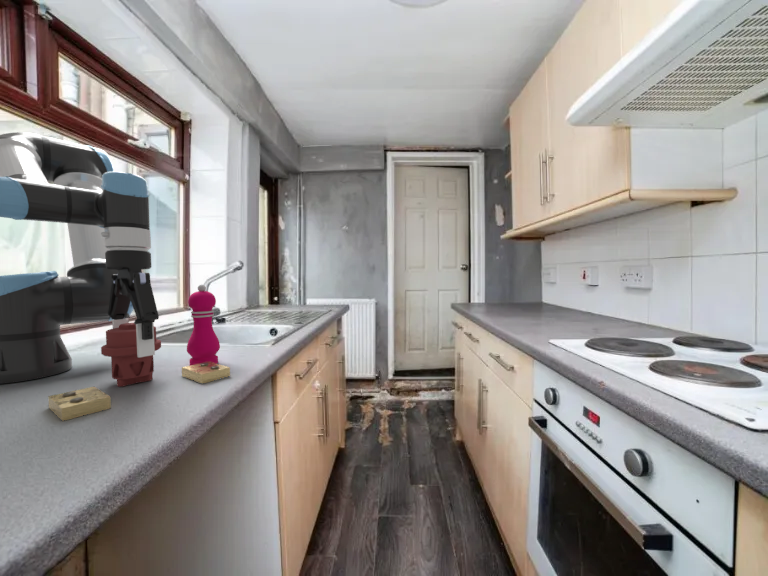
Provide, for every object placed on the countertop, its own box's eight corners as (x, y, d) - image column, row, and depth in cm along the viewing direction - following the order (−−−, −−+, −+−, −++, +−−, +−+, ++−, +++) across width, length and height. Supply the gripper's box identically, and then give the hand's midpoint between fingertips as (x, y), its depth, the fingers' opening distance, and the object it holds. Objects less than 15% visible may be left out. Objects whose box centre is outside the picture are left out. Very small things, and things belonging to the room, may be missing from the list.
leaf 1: (48, 407, 56) (48, 394, 56) (94, 397, 61) (93, 384, 61) (62, 421, 51) (61, 406, 51) (110, 408, 56) (110, 394, 56)
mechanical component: (173, 375, 74) (131, 391, 64) (136, 373, 76) (89, 388, 66) (171, 320, 73) (128, 328, 63) (134, 319, 75) (86, 326, 65)
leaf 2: (182, 376, 73) (181, 366, 73) (209, 369, 78) (209, 360, 78) (202, 383, 68) (201, 372, 68) (230, 376, 73) (229, 366, 73)
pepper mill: (215, 359, 88) (213, 284, 87) (224, 364, 82) (221, 284, 82) (184, 364, 83) (181, 284, 82) (191, 370, 78) (188, 285, 77)
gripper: (87, 253, 73) (92, 349, 74) (128, 244, 58) (134, 364, 59) (128, 254, 79) (132, 343, 80) (175, 247, 64) (179, 355, 65)
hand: (133, 352), depth 69 cm, fingers open, 13 cm apart
